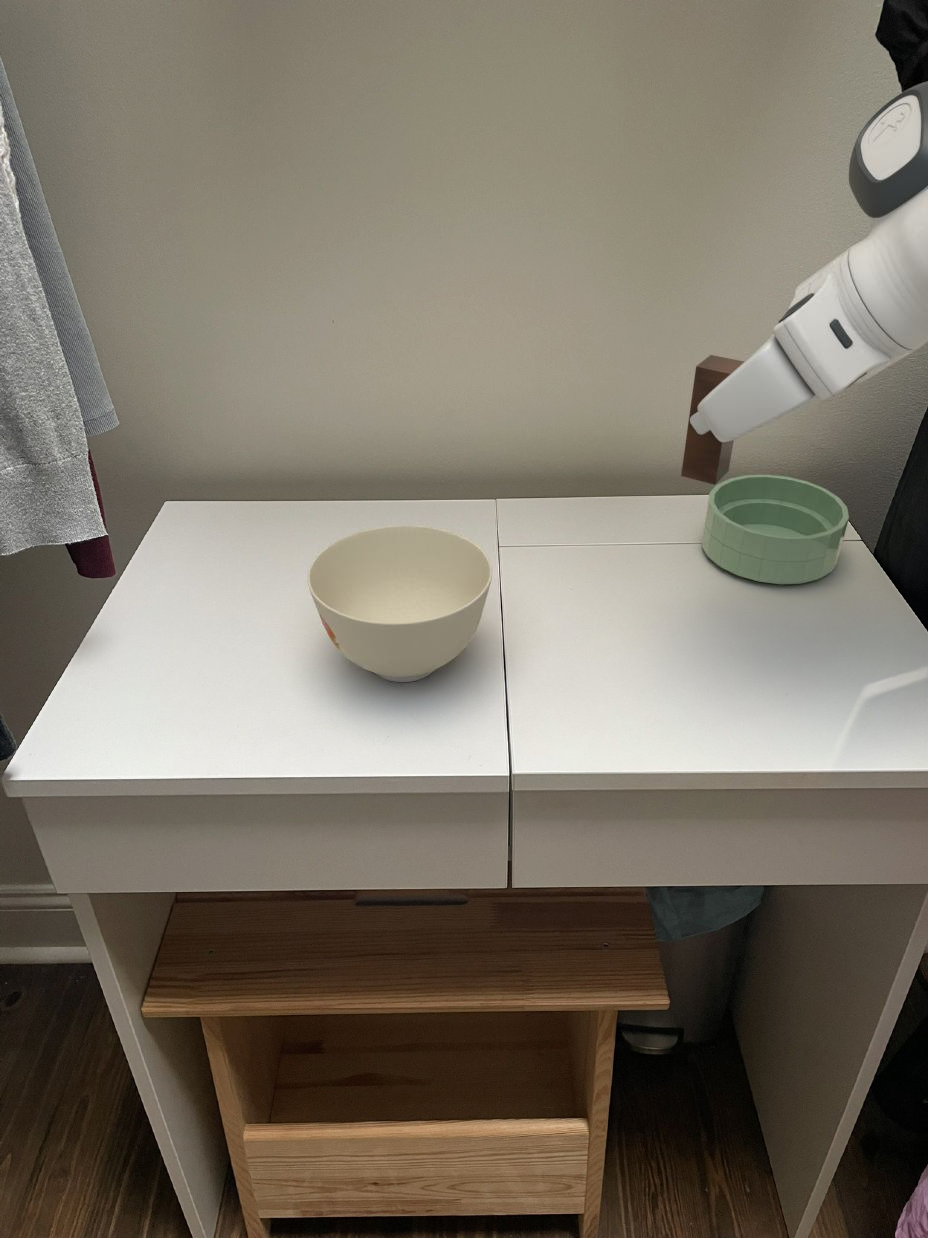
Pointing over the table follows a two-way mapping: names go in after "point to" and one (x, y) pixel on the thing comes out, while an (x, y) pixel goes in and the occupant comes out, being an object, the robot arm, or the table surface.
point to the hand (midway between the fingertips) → (707, 415)
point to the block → (706, 451)
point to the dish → (774, 528)
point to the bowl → (400, 597)
